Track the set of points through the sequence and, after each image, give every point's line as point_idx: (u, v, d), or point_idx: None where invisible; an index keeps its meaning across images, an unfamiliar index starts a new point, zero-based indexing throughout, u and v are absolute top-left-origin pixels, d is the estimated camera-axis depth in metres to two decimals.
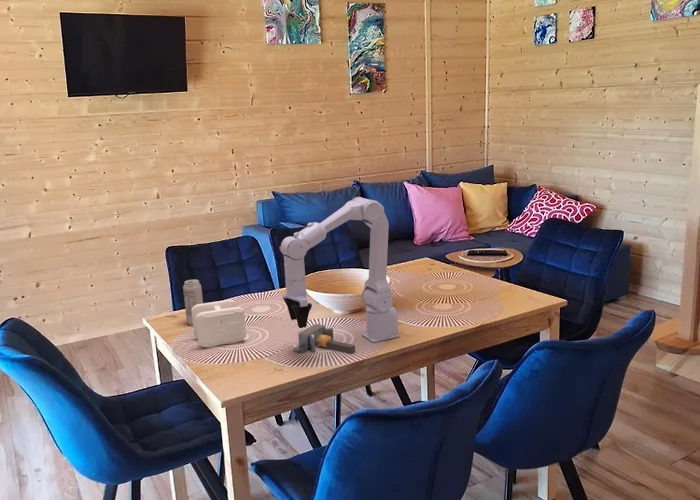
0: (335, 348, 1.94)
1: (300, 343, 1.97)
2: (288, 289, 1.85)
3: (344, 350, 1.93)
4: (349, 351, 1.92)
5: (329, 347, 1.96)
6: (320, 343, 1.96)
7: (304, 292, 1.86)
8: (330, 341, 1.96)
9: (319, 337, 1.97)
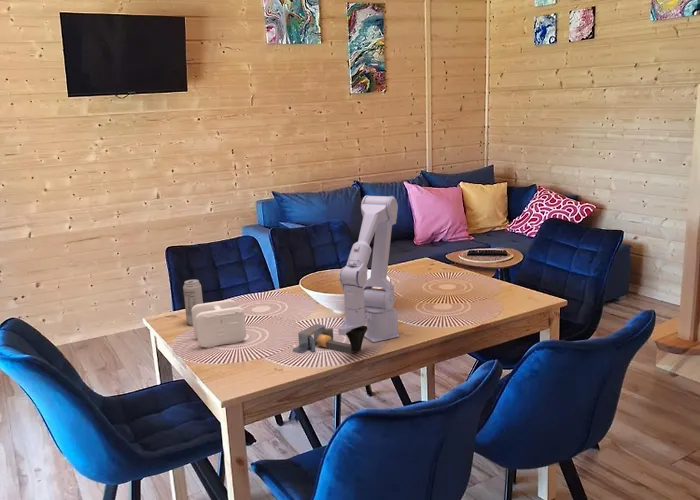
0: (335, 348, 1.94)
1: (300, 343, 1.97)
2: None
3: (344, 350, 1.93)
4: (349, 351, 1.92)
5: (329, 346, 1.96)
6: (320, 343, 1.96)
7: (356, 322, 1.86)
8: (330, 341, 1.96)
9: (319, 337, 1.97)
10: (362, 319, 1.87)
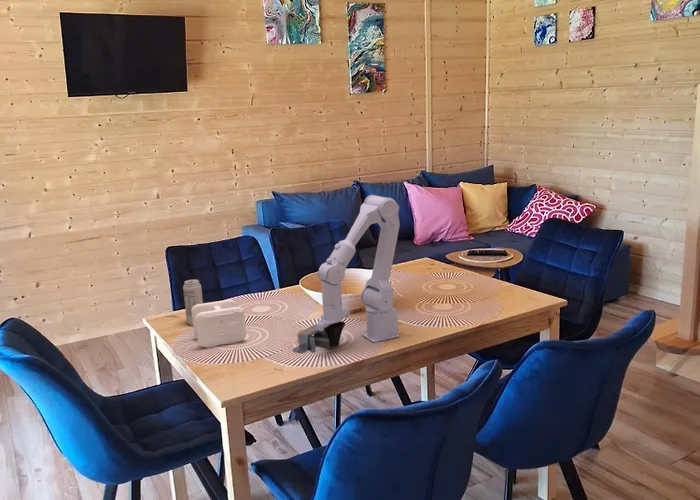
0: None
1: (300, 343, 1.97)
2: None
3: (322, 345, 1.97)
4: (327, 346, 1.96)
5: None
6: None
7: (333, 318, 1.91)
8: None
9: None
10: (339, 315, 1.91)
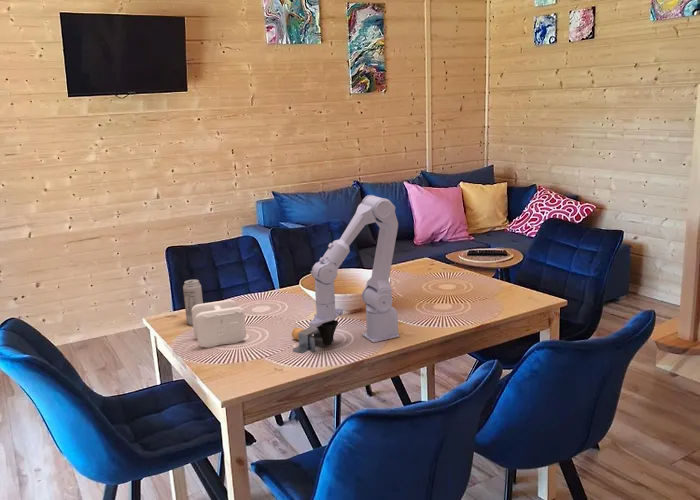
0: None
1: (300, 343, 1.97)
2: None
3: (316, 343, 1.99)
4: (320, 345, 1.98)
5: None
6: (294, 336, 2.03)
7: (326, 317, 1.92)
8: None
9: (294, 330, 2.04)
10: (332, 314, 1.93)
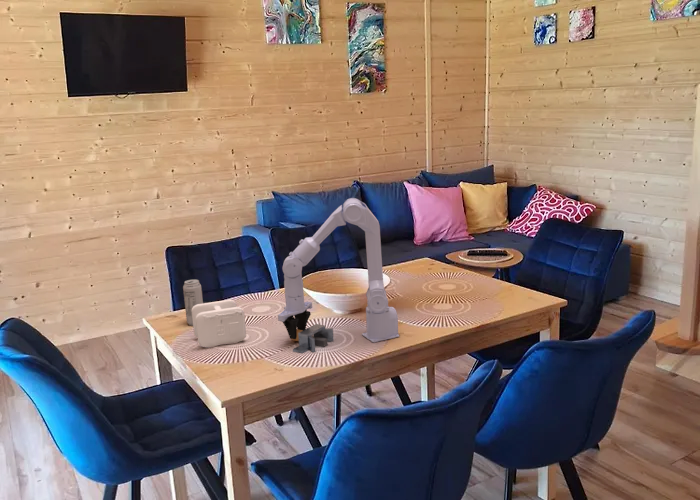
0: None
1: (300, 343, 1.97)
2: None
3: (317, 344, 1.99)
4: (322, 344, 1.98)
5: None
6: None
7: (295, 309, 1.98)
8: None
9: None
10: (301, 306, 1.99)
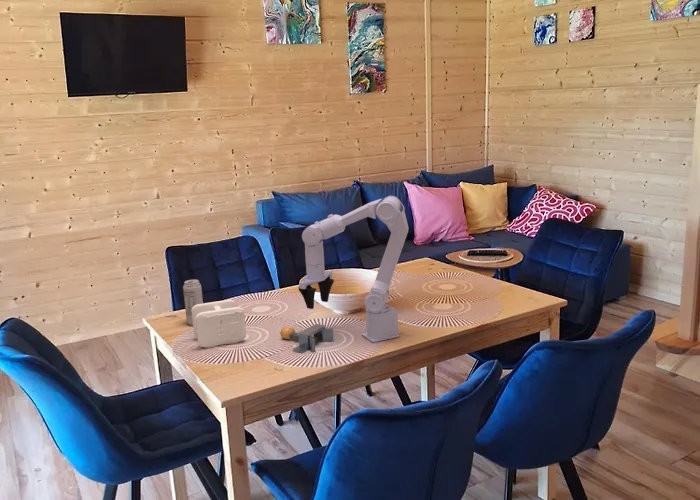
0: (297, 340, 2.02)
1: (300, 343, 1.97)
2: None
3: None
4: None
5: (292, 338, 2.03)
6: (283, 335, 2.04)
7: (316, 277, 2.01)
8: (293, 333, 2.04)
9: (282, 329, 2.05)
10: (322, 275, 2.02)
